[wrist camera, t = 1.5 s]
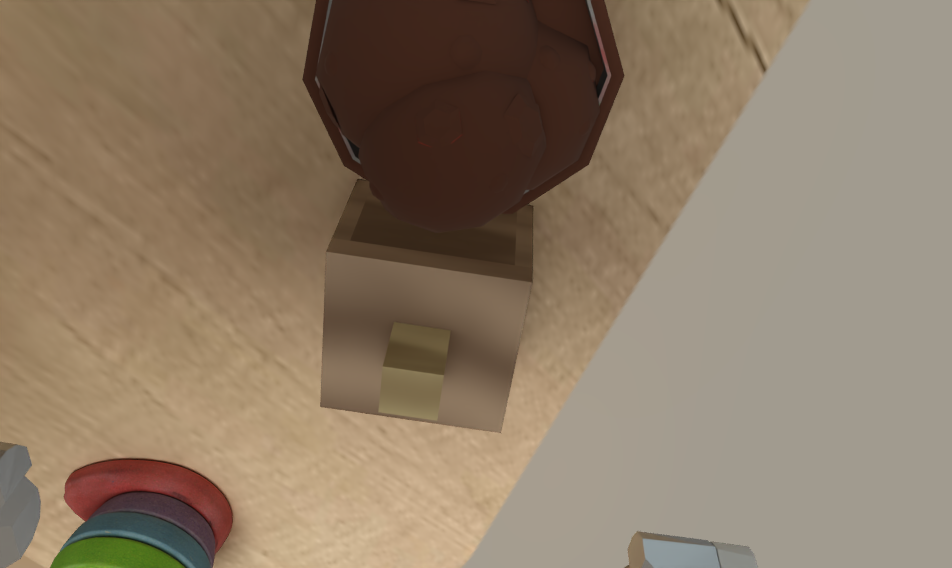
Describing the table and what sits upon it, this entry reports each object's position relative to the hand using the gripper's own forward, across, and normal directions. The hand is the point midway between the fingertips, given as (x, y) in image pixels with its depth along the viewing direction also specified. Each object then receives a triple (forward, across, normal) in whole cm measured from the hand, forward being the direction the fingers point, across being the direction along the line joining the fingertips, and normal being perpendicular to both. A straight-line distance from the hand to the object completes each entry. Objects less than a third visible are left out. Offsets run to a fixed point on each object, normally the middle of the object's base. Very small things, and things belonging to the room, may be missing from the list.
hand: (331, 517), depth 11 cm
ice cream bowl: (+29, 0, 0) cm, 29 cm away
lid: (+23, 0, +14) cm, 27 cm away
